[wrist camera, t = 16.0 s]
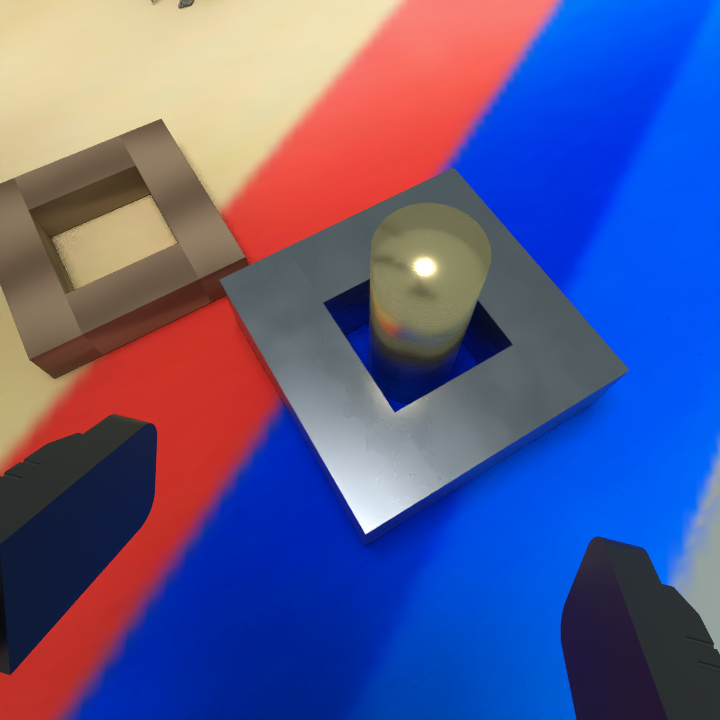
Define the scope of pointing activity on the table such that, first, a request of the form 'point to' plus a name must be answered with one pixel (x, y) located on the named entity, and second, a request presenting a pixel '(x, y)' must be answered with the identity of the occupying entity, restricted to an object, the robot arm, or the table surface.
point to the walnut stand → (126, 286)
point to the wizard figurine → (184, 3)
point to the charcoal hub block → (441, 406)
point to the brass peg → (422, 296)
